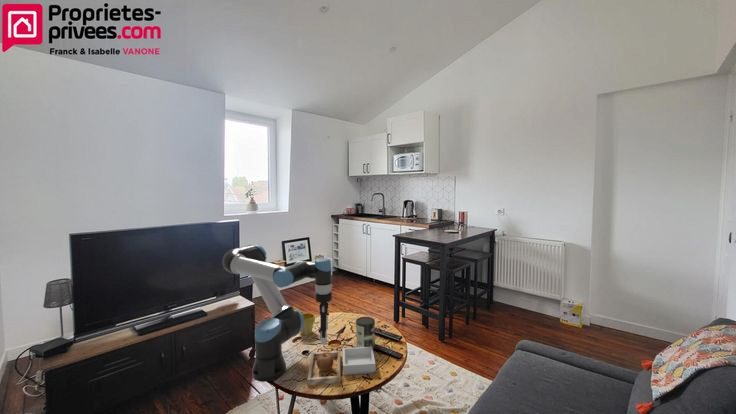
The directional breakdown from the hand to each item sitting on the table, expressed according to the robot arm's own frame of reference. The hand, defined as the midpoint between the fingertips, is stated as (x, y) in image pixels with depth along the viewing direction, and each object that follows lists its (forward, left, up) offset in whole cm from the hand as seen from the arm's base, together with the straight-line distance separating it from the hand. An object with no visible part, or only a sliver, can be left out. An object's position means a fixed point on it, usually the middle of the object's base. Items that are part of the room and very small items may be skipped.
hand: (324, 336), depth 140 cm
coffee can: (+21, +19, -16) cm, 33 cm away
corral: (0, 0, -16) cm, 16 cm away
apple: (0, 0, -16) cm, 17 cm away
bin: (+16, +2, -16) cm, 23 cm away
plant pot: (-13, +38, -16) cm, 43 cm away
